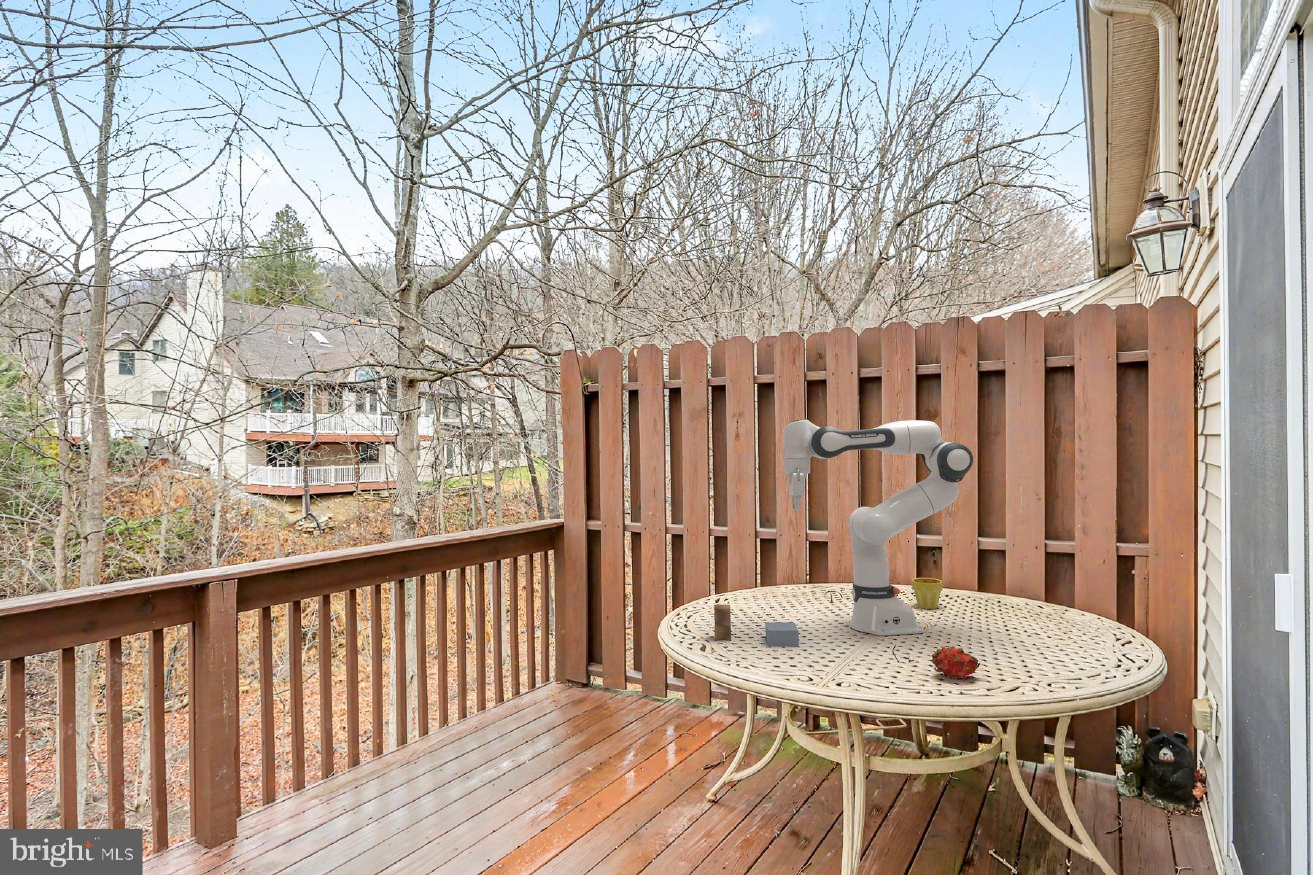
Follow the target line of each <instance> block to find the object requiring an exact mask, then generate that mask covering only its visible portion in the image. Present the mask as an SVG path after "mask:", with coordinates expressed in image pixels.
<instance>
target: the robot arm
mask: <svg viewBox="0 0 1313 875" xmlns="http://www.w3.org/2000/svg"><path fill="white" fill-rule="evenodd" d="M783 448H784V456H783V461H782V462H783V465H782V468H783V469H782V472H783V474H786V478H787V484H788V485H787V487H788V493H789V494H788V495H789V496H790V497H791V503H792V510H794V511H801V503H802V497H804V496H805V479H807V475H808V474H809V475H810V474H811V461H812V460H811V458H812V457H813V458H817V459H821V460H827V459H832V458H835V457H837V456H839V455H841V454H842V453H845V452H848V451H857V450H858V451H859V450H861V451H862V450H877V451H880V452H882V453H883V454H887V455H895V456H897V455H911V454H912V455H914V454H919V455H920V456H921V459H922V462H923V464H924V466H925V468H926V469H927V471H929V472H930V474H929V476H927V477H926V478H924V479H923V480H921V481H919V482H917V483H914V484H912V485H909V486H908V487H906V488H904V489H902V490H900V491H897V492H896V493H894V494H892V495H891V496H890V497H888V498H887V499H886V500H884V501H882V502H881V503H879V504H877V505H875V506H874V507H870V506H860V507H858V508H856V509H855V510H853V511H852V512H851V513H850V515H849V518H848V527H849V528H848V529H849V538H850V546H851V552H852V564H853V583H852V588H851V590H852V591H851V592H852V593H851V594H852V600H853V606H852V607H853V610H852V615H851V621H850V624H849V627H850V628H852V629H853V630H856V631H859V632H863V633H868V634H872V635H875V636H896V635H911V634H915V635H916V634H923V633H924V632H925V628H924V626H923V624H921V623H920V622H918V621H917V619H916V615H915V612H914V610H913V609H912V608H911V607H910V606H909V605H908V604H907V603H905V602H904V601H903V600H901V599H900V598H899V597H897V596H898V595H900V593H901V590H900V588H898V587H896V586H893V585H892V584H891V583H890V569H889V568H890V563H889V557H888V553H887V547H886V542H888V541H889V540H890V539H892V538H893V537H896V535H898V534H899V533H901V532H902V531H904V530H905V529H907V528H909V527H910V526H911V525H914V524H916V523H918V522H920V521H922V520H924V519H926V518H928V517H930V516H933V515H935V514H936V513H938V512H940V511H942V510H944V509H946V507H948V506H950V505H952V503H953V502H955V501H956V500H958V498H959V496H960V487H959V485H958V483H959V482H962V481H963V479H964V477H965V476H966V475H967V474H968V473H969V471H970V470H971V469H972V466H973V464H974V455H973V453H972V451H971V450H970V449H969V447H967V446H966V445H964V444H962V443H960V442H952V441H950V442H949V441H948V442H947V441H945V440H944V439H943V437H942V432H941V428H940V427H939V425H938V424H937V423H936V422H933V421H930V420H918V419H917V420H916V419H915V420H914V419H912V420H909V419H907V420H900V421H899V420H898V421H892V422H887V423H885V424H882V425H881V424H880V425H879V426H877V427H874V428H873V427H872V428H867V429H854V430H843V429H840V428H837V427H836V426H835V427H834V426H829V425H827V426H821V427H819V426H817V425H816V424H814V423H813V422H811V421H810V420H808V419H806V418H805V419H804V418H802V419H795V420H791V421H789V422H788V423H786V425H785V427H784V433H783ZM896 595H897V596H896Z"/></svg>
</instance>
